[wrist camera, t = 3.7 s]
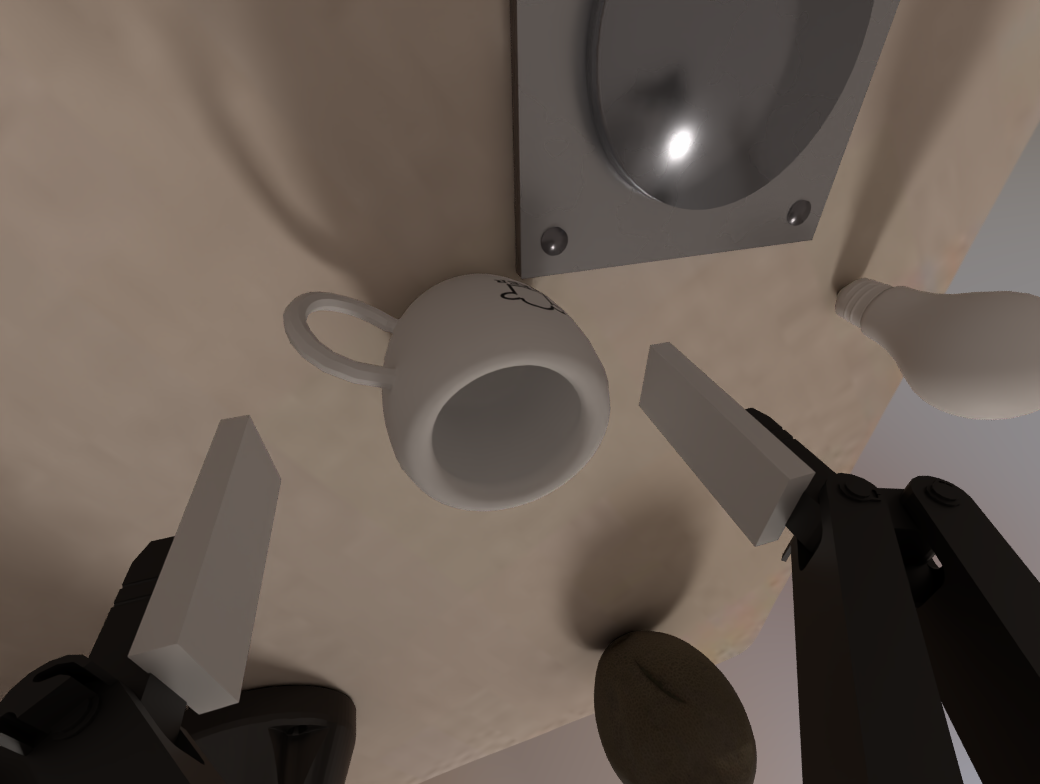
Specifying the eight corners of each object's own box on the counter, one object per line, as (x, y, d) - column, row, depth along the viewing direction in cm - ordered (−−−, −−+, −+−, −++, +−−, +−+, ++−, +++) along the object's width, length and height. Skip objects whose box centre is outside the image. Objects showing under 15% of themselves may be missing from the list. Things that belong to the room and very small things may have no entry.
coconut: (548, 681, 48) (611, 874, 36) (610, 603, 42) (709, 806, 30) (645, 666, 55) (724, 827, 43) (711, 597, 48) (824, 763, 37)
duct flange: (516, 272, 20) (529, 289, 19) (501, -361, 11) (526, -435, 9) (799, 235, 24) (831, 247, 22) (974, -263, 14) (1049, -303, 13)
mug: (581, 290, 22) (669, 374, 16) (502, 422, 25) (551, 533, 19) (326, 170, 16) (309, 229, 10) (268, 362, 19) (229, 496, 13)
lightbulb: (900, 273, 28) (1140, 361, 19) (824, 350, 30) (1011, 460, 21) (864, 222, 25) (1134, 300, 16) (782, 312, 27) (983, 424, 18)
